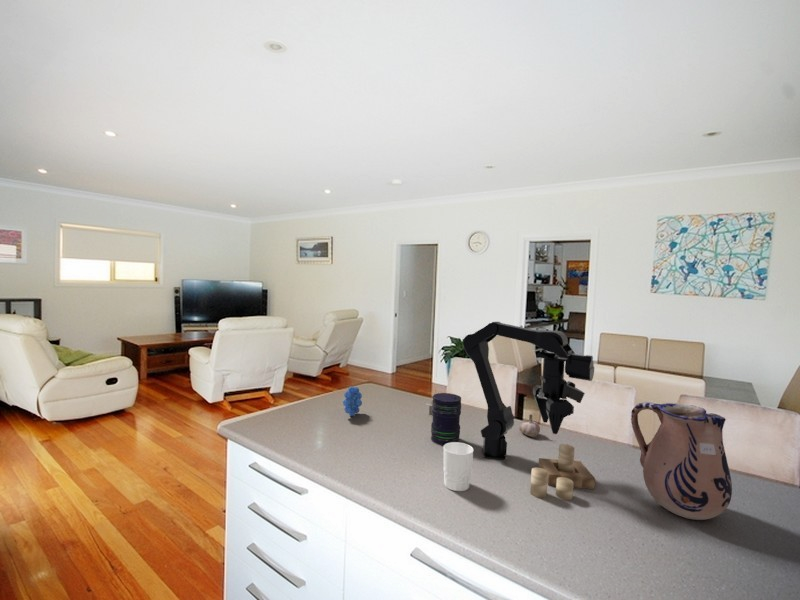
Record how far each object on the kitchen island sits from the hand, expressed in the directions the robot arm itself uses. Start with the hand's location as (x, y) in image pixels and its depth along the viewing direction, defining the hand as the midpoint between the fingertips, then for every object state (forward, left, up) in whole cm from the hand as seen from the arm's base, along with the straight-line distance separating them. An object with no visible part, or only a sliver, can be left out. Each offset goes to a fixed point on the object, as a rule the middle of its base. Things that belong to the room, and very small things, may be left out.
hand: (549, 427), depth 113 cm
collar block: (+4, -3, -13) cm, 14 cm away
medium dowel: (-6, -13, -13) cm, 19 cm away
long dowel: (+4, -3, -13) cm, 14 cm away
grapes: (-64, +35, -13) cm, 74 cm away
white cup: (-27, -12, -13) cm, 32 cm away
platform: (-31, +42, -14) cm, 54 cm away
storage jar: (-29, +18, -13) cm, 37 cm away
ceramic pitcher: (+27, -14, -13) cm, 33 cm away
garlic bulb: (+2, +29, -13) cm, 32 cm away
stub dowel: (0, -13, -13) cm, 18 cm away
